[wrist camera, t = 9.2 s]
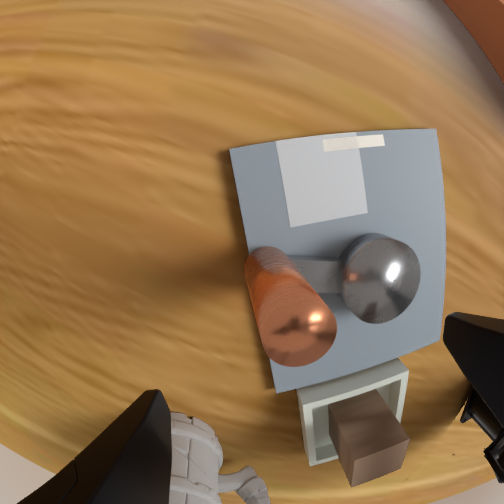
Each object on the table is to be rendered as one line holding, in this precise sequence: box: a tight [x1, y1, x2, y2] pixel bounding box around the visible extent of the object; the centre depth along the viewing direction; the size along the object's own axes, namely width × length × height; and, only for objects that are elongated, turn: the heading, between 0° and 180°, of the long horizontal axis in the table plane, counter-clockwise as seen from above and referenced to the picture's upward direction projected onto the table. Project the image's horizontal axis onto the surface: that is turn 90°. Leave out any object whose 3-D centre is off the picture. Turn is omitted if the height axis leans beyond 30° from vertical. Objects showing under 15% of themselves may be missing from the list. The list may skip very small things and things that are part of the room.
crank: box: [244, 233, 421, 367], centre depth 14 cm, size 10×5×8 cm, turn 85°
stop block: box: [328, 389, 410, 487], centre depth 18 cm, size 4×4×6 cm
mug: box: [169, 412, 271, 504], centre depth 15 cm, size 8×12×12 cm, turn 63°
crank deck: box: [229, 129, 446, 393], centre depth 18 cm, size 16×14×1 cm
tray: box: [296, 358, 409, 466], centre depth 21 cm, size 8×8×2 cm
